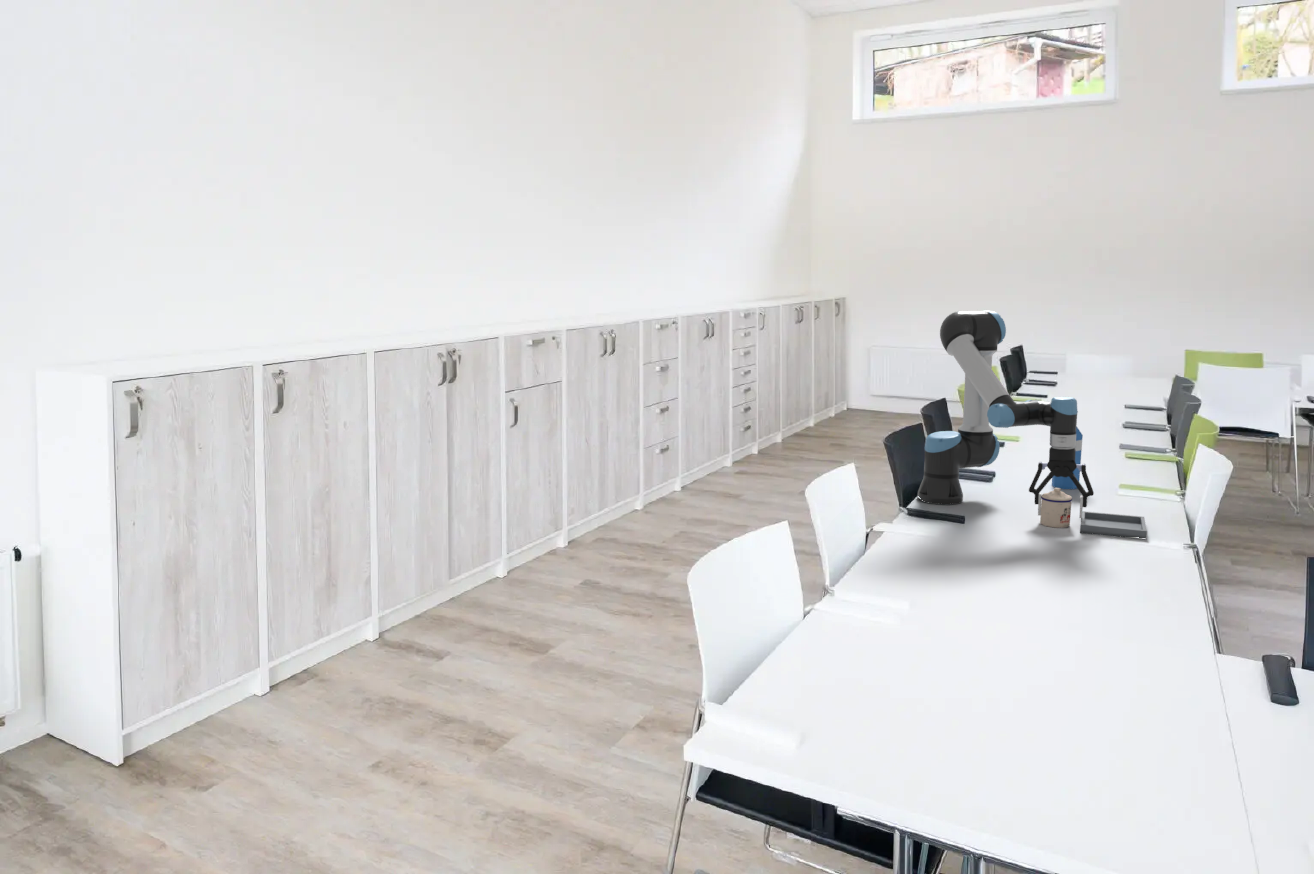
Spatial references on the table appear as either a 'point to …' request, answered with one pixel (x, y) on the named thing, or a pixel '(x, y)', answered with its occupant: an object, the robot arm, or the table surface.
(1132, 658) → the table surface
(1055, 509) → the teacup with lid
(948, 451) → the robot arm
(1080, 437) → the water bottle
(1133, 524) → the tray
